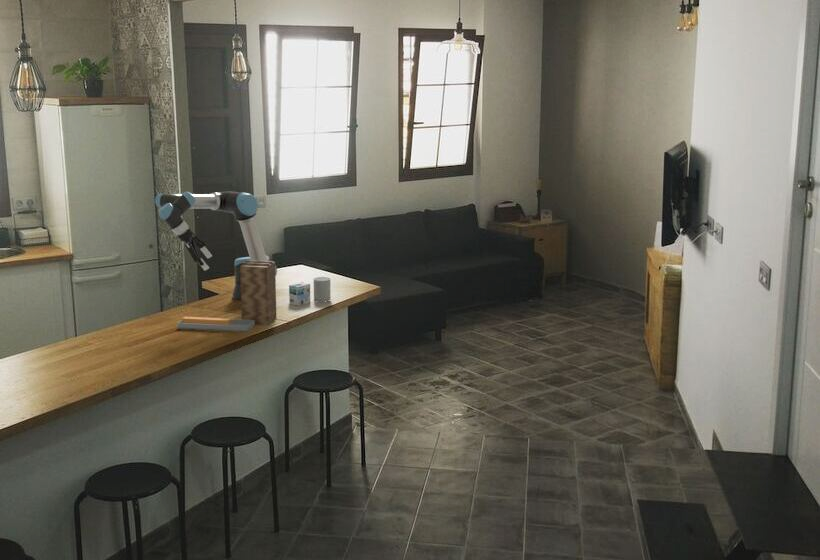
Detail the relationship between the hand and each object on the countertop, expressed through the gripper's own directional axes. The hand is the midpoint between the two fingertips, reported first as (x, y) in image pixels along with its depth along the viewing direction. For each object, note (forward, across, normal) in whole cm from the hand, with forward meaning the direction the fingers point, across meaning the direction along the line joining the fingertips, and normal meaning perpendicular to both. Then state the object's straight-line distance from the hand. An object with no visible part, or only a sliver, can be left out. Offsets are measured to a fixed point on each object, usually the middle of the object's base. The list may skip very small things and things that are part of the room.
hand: (208, 263), depth 444 cm
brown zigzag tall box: (+37, +11, +6) cm, 39 cm away
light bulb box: (+56, -24, +18) cm, 63 cm away
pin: (+21, +20, -14) cm, 32 cm away
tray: (+24, +21, -10) cm, 33 cm away
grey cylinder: (+64, -30, +27) cm, 75 cm away
